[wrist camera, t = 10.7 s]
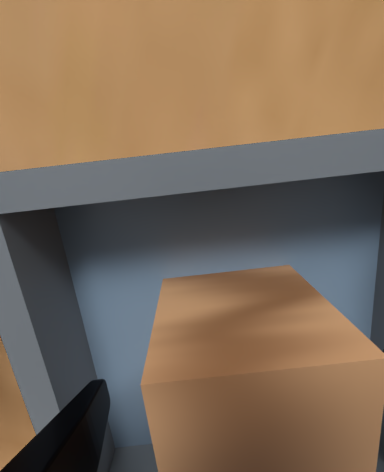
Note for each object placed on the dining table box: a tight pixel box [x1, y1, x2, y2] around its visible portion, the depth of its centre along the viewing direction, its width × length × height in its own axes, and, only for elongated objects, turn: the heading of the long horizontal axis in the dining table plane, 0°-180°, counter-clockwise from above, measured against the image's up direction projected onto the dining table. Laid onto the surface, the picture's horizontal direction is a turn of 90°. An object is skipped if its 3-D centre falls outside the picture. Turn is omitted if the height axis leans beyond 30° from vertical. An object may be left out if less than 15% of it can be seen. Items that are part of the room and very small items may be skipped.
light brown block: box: [141, 265, 384, 472], centre depth 8 cm, size 5×5×5 cm
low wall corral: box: [0, 129, 384, 472], centre depth 9 cm, size 14×14×3 cm
